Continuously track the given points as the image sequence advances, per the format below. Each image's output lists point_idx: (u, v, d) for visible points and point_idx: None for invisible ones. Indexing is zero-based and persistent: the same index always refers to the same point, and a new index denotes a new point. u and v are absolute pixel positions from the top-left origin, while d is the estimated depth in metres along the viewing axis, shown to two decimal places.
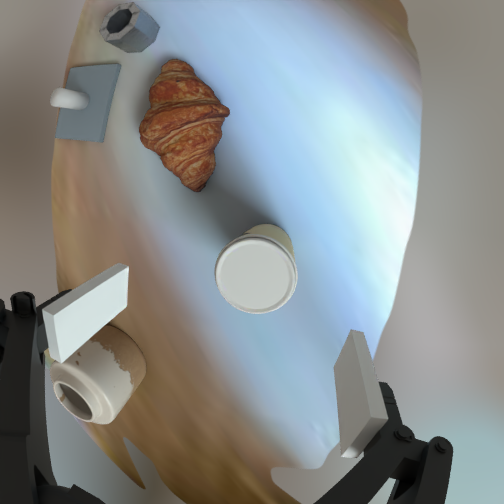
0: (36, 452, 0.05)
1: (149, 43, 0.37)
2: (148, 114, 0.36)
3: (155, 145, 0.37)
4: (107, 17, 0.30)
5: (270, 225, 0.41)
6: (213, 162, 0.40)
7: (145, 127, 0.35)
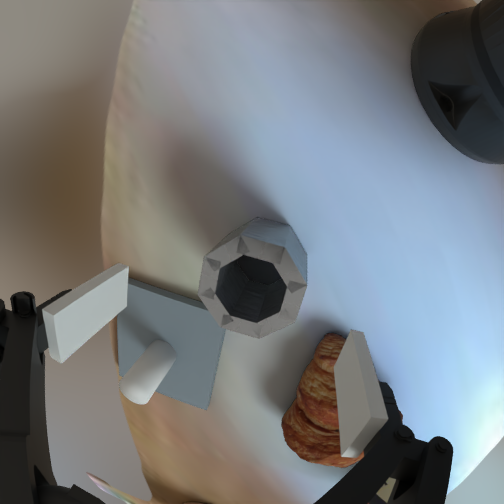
0: (36, 452, 0.05)
1: None
2: (306, 434, 0.25)
3: None
4: (212, 264, 0.20)
5: None
6: None
7: (306, 454, 0.24)
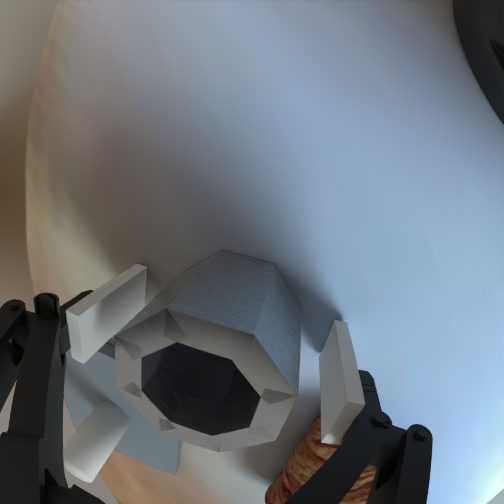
0: (48, 455, 0.05)
1: None
2: None
3: None
4: (129, 350, 0.10)
5: None
6: None
7: None
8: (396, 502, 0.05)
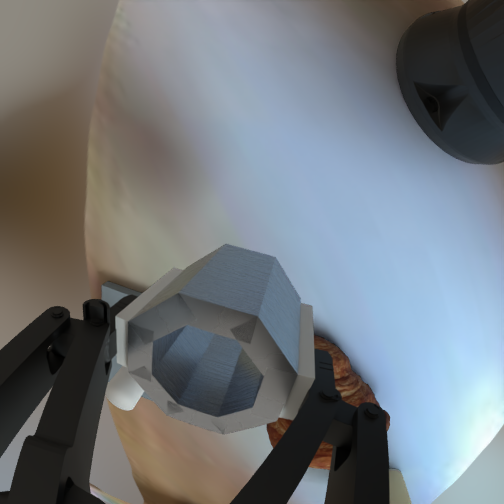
0: (74, 464, 0.05)
1: None
2: None
3: None
4: (141, 334, 0.11)
5: (392, 476, 0.30)
6: None
7: None
8: (357, 483, 0.06)
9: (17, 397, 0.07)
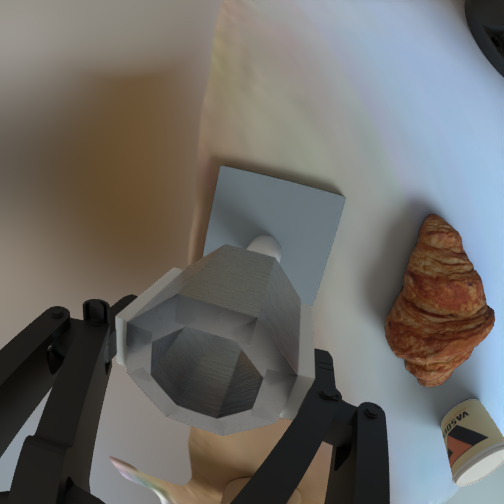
0: (74, 464, 0.05)
1: None
2: (421, 325, 0.24)
3: (417, 360, 0.25)
4: (140, 335, 0.11)
5: (477, 404, 0.29)
6: None
7: (422, 350, 0.23)
8: (357, 484, 0.06)
9: (17, 397, 0.07)
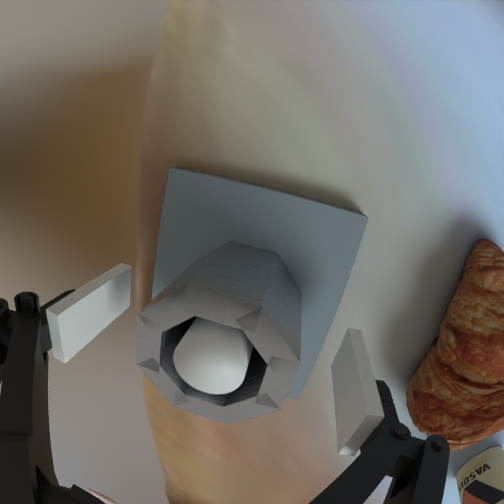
0: (38, 453, 0.05)
1: None
2: (460, 399, 0.14)
3: None
4: (150, 326, 0.12)
5: (500, 454, 0.19)
6: None
7: (457, 431, 0.13)
8: None
9: None
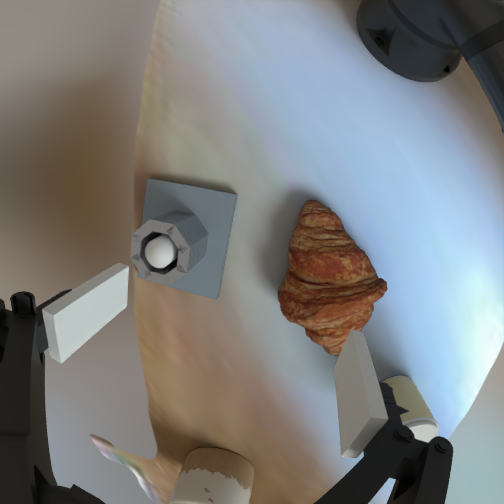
0: (36, 452, 0.05)
1: None
2: (300, 292, 0.33)
3: (307, 325, 0.34)
4: (137, 238, 0.31)
5: (404, 381, 0.38)
6: (360, 331, 0.37)
7: (302, 313, 0.32)
8: None
9: None
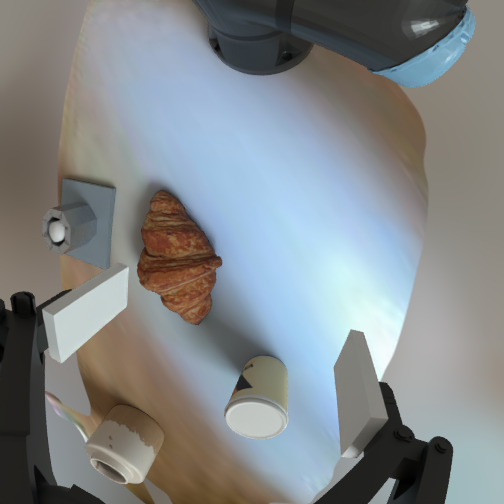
0: (35, 452, 0.05)
1: (91, 238, 0.45)
2: (144, 262, 0.40)
3: (155, 291, 0.42)
4: (44, 221, 0.38)
5: (269, 361, 0.46)
6: (209, 303, 0.44)
7: (143, 279, 0.40)
8: None
9: None
